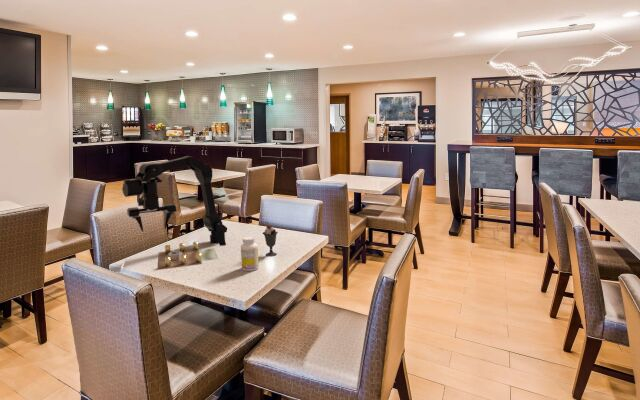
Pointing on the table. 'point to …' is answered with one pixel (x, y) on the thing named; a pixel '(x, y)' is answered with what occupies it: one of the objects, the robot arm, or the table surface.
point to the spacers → (182, 257)
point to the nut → (175, 255)
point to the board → (187, 258)
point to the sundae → (270, 239)
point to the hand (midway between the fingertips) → (153, 229)
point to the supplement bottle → (249, 254)
